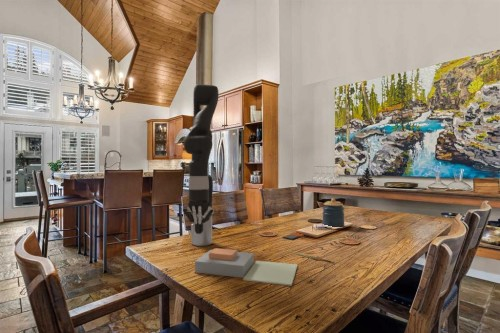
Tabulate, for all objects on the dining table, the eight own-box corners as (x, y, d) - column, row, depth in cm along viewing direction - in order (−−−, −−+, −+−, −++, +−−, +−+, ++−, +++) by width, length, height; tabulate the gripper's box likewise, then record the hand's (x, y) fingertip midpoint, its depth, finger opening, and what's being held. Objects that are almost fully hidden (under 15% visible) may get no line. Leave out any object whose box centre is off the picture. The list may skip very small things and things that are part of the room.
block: (208, 258, 102) (208, 252, 102) (215, 253, 108) (214, 248, 108) (231, 260, 100) (231, 255, 100) (237, 255, 106) (237, 250, 106)
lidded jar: (323, 229, 165) (323, 199, 165) (321, 224, 178) (321, 196, 178) (346, 230, 163) (346, 199, 163) (342, 225, 176) (342, 197, 175)
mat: (243, 280, 93) (243, 278, 93) (256, 261, 110) (256, 260, 110) (291, 285, 88) (291, 284, 88) (297, 265, 106) (297, 264, 106)
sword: (279, 251, 125) (279, 250, 125) (284, 249, 127) (284, 248, 127) (331, 264, 107) (331, 262, 107) (335, 262, 110) (335, 260, 110)
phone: (307, 233, 152) (292, 239, 141) (307, 235, 152) (292, 241, 141) (297, 231, 156) (281, 236, 145) (297, 233, 156) (281, 239, 145)
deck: (195, 272, 99) (194, 261, 99) (210, 259, 113) (210, 249, 113) (243, 277, 95) (243, 266, 95) (253, 263, 108) (253, 253, 108)
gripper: (178, 188, 105) (178, 234, 105) (211, 188, 101) (211, 236, 101) (187, 187, 112) (188, 230, 112) (218, 187, 108) (219, 232, 108)
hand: (199, 233), depth 106 cm, fingers closed
